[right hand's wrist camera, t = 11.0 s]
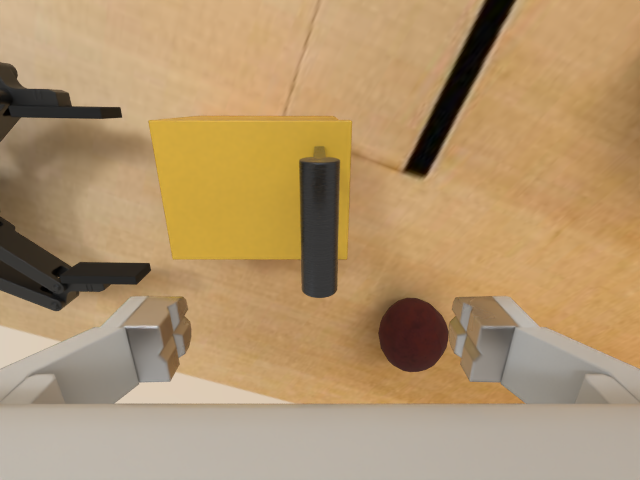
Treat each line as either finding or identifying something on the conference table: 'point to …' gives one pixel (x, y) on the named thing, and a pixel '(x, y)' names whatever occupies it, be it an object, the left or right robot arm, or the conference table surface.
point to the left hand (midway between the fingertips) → (129, 200)
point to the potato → (413, 335)
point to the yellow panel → (258, 191)
